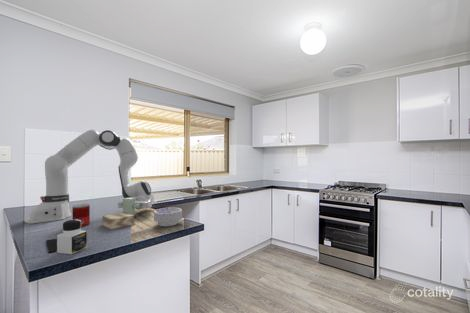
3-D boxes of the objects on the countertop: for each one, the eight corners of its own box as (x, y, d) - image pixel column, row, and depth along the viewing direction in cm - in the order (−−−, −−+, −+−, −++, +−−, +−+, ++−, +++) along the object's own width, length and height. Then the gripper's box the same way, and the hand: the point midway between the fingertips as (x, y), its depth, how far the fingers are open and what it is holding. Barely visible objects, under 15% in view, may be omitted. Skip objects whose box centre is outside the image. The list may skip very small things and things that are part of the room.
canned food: (92, 223, 134) (92, 204, 134) (79, 227, 126) (79, 207, 126) (82, 222, 136) (82, 203, 136) (69, 226, 128) (69, 206, 129)
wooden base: (110, 229, 123) (110, 219, 123) (102, 224, 131) (102, 215, 131) (133, 224, 131) (133, 215, 131) (124, 220, 140) (124, 212, 140)
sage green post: (122, 217, 142) (122, 199, 142) (127, 215, 147) (127, 197, 147) (130, 217, 142) (130, 199, 142) (135, 215, 147) (135, 197, 147)
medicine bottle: (72, 254, 91) (71, 223, 91) (56, 253, 92) (56, 222, 92) (87, 247, 98) (87, 218, 98) (72, 246, 99) (72, 217, 99)
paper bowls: (167, 230, 121) (167, 214, 121) (147, 225, 129) (147, 211, 129) (188, 222, 134) (187, 208, 134) (169, 219, 142) (169, 206, 142)
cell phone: (48, 254, 92) (48, 252, 92) (46, 242, 106) (46, 240, 106) (75, 248, 98) (75, 246, 98) (70, 237, 111) (70, 235, 111)
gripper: (124, 197, 158) (112, 201, 145) (154, 197, 157) (144, 201, 143) (124, 206, 158) (112, 211, 144) (154, 207, 157) (144, 212, 143)
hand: (128, 206), depth 144 cm, fingers closed on sage green post, 5 cm apart
